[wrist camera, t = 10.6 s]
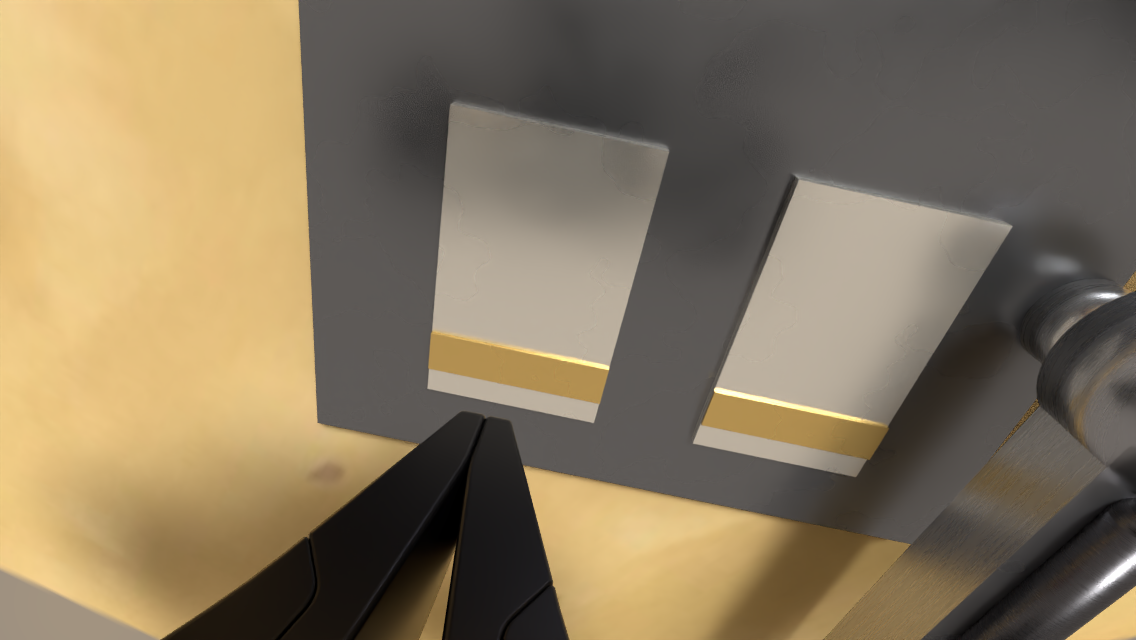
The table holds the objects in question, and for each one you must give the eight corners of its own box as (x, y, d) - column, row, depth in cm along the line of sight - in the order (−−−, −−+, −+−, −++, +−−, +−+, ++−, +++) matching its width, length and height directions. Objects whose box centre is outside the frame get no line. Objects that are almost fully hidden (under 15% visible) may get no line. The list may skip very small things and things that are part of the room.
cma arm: (1130, 258, 11) (1291, 334, 8) (1304, 316, 11) (1513, 407, 9) (716, 729, 21) (729, 832, 18) (814, 754, 21) (842, 859, 18)
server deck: (1379, -69, 10) (1600, -94, 8) (928, 526, 19) (972, 598, 16) (311, -315, 10) (217, -417, 8) (332, 403, 18) (289, 460, 16)
